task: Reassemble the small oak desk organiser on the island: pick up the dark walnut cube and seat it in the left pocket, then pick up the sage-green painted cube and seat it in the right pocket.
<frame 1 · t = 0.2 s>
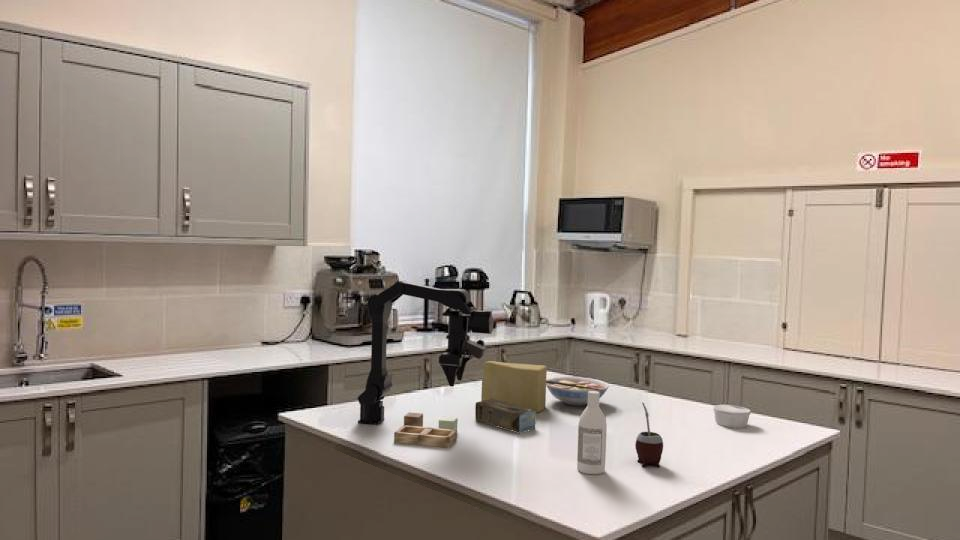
hand: (455, 383, 207), 14 cm above the counter, tool pointing down, fingers open, 9 cm apart
mate gourd: (647, 464, 181), on the counter
ramen bowl: (575, 404, 246), on the counter
walnut cube: (413, 429, 207), on the counter
cheese: (511, 407, 239), on the counter
sage cube: (447, 433, 204), on the counter
ramekin: (731, 425, 224), on the counter
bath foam: (590, 471, 175), on the counter
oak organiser: (425, 440, 196), on the counter
beverage carton: (504, 426, 215), on the counter
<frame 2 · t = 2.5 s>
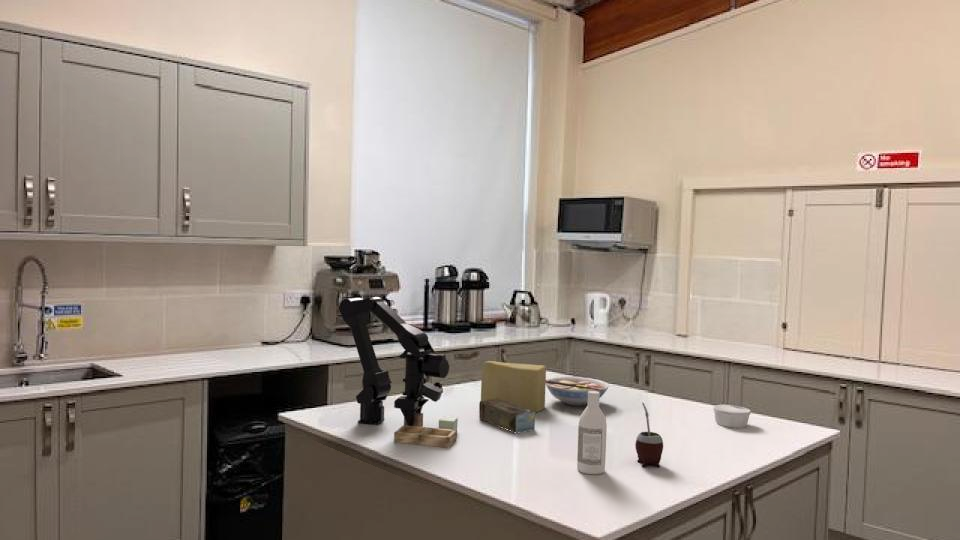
hand: (413, 425, 207), 1 cm above the counter, tool pointing down, fingers closed on walnut cube, 4 cm apart
walnut cube: (413, 429, 207), on the counter, touching gripper
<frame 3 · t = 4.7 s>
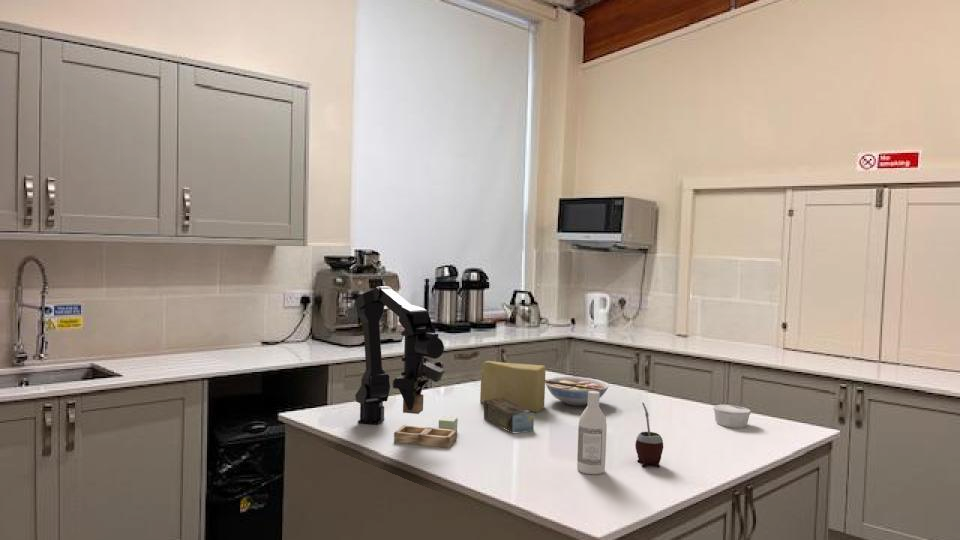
hand: (412, 407, 196), 9 cm above the counter, tool pointing down, fingers closed on walnut cube, 4 cm apart
walnut cube: (413, 411, 196), point 8 cm above the counter, touching gripper
when the fingers open (4 cm above the counter, at t = 5.9 s): walnut cube drops 2 cm, resting on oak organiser.
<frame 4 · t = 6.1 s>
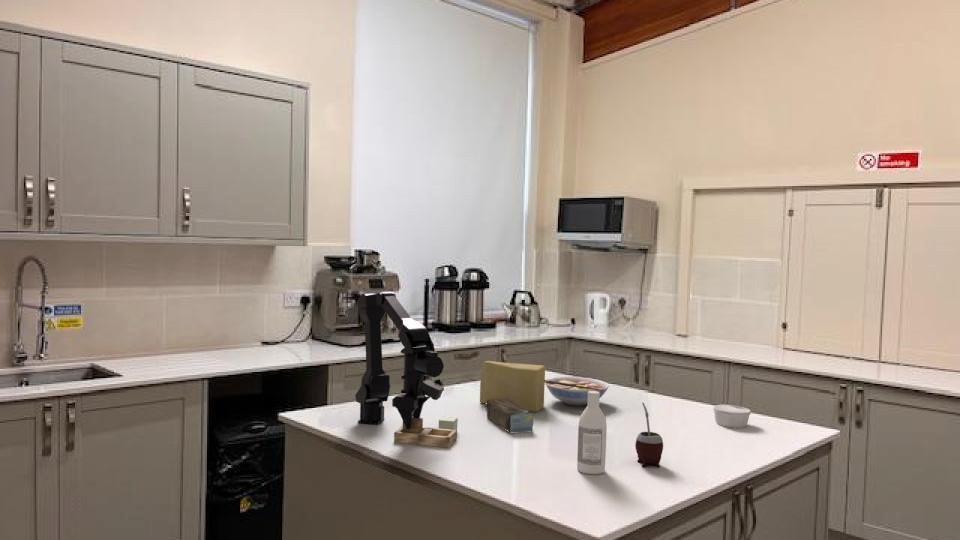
hand: (412, 425, 196), 4 cm above the counter, tool pointing down, fingers open, 7 cm apart
walnut cube: (412, 435, 197), point 1 cm above the counter, touching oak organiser
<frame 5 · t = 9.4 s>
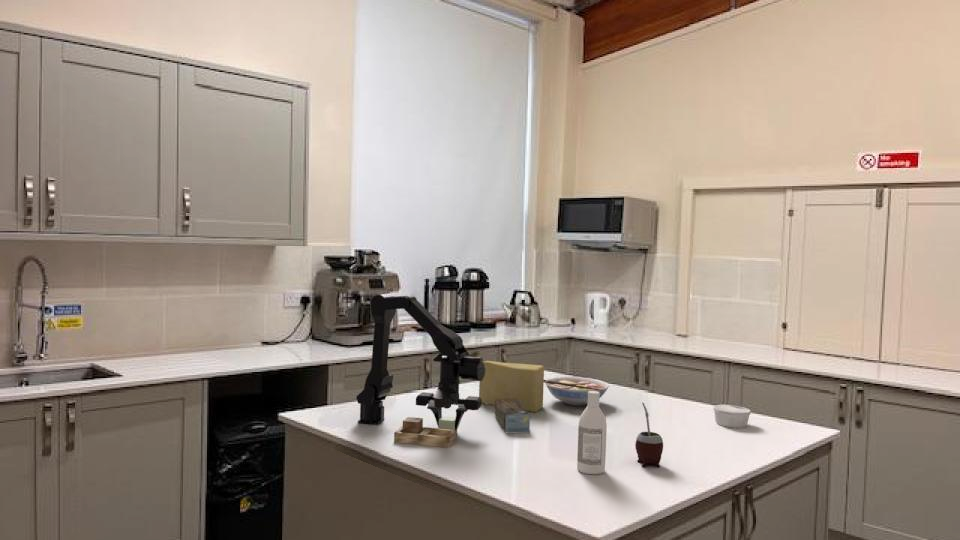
hand: (447, 430, 204), 1 cm above the counter, tool pointing down, fingers closed on sage cube, 4 cm apart
sage cube: (447, 433, 204), on the counter, touching gripper
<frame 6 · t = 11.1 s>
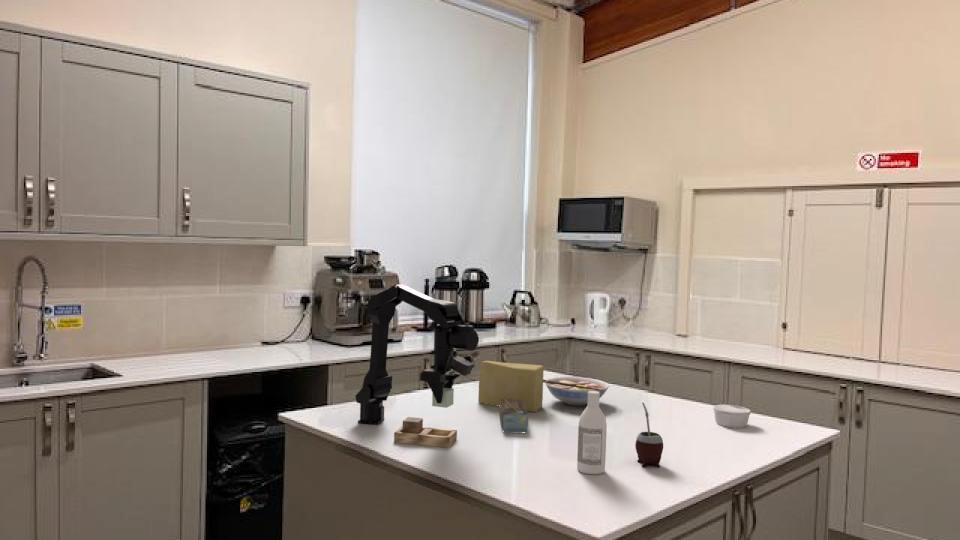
hand: (442, 401, 196), 11 cm above the counter, tool pointing down, fingers closed on sage cube, 4 cm apart
sage cube: (442, 405, 196), point 10 cm above the counter, touching gripper
when the fingers open (4 cm above the counter, at t = 12.9 s): sage cube drops 2 cm, resting on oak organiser.
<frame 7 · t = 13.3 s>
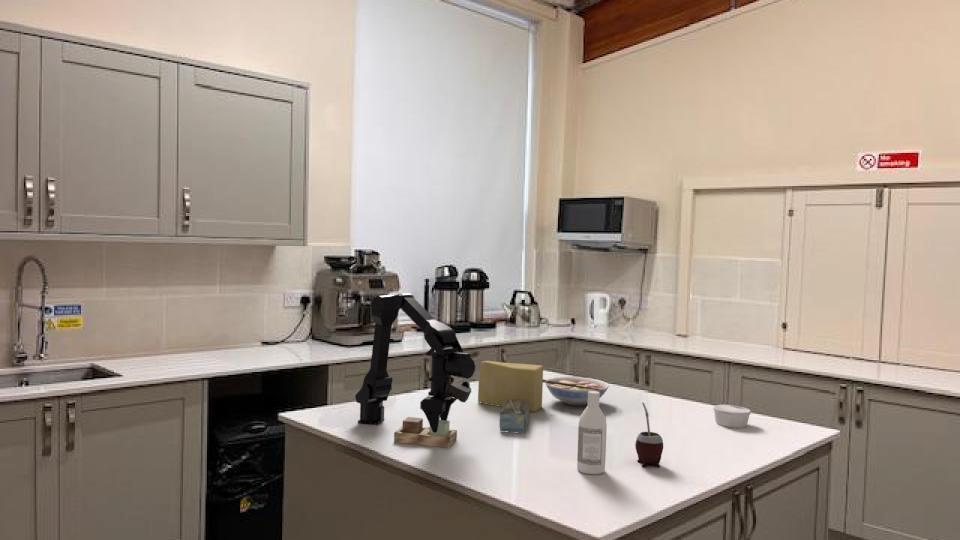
hand: (439, 428, 195), 4 cm above the counter, tool pointing down, fingers open, 9 cm apart
sage cube: (439, 437, 195), point 1 cm above the counter, touching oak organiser
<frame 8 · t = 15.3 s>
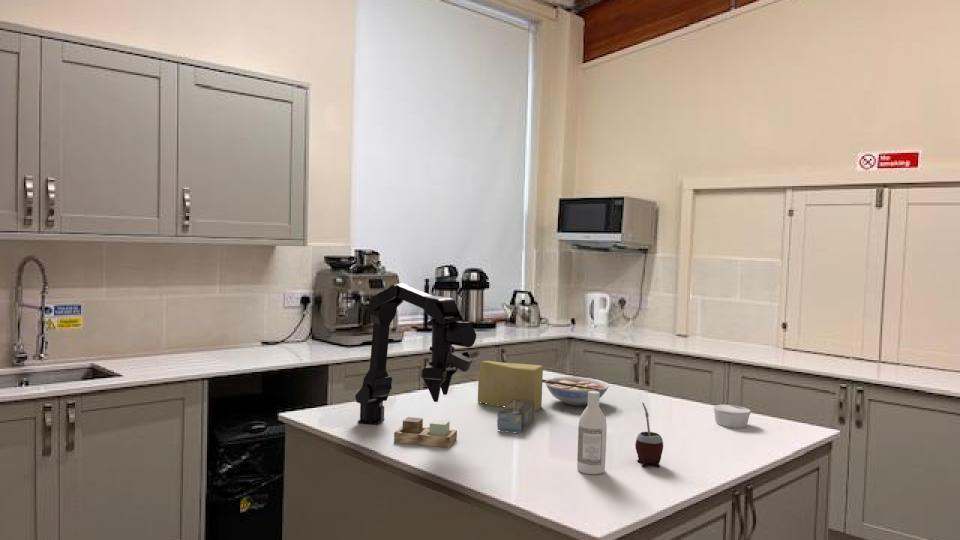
hand: (440, 398, 194), 12 cm above the counter, tool pointing down, fingers open, 9 cm apart
at the end: walnut cube 0.0 cm from the target spot on the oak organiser, point 1.2 cm above the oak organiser's base; sage cube 0.0 cm from the target spot on the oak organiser, point 1.2 cm above the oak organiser's base; the gripper is holding nothing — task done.
